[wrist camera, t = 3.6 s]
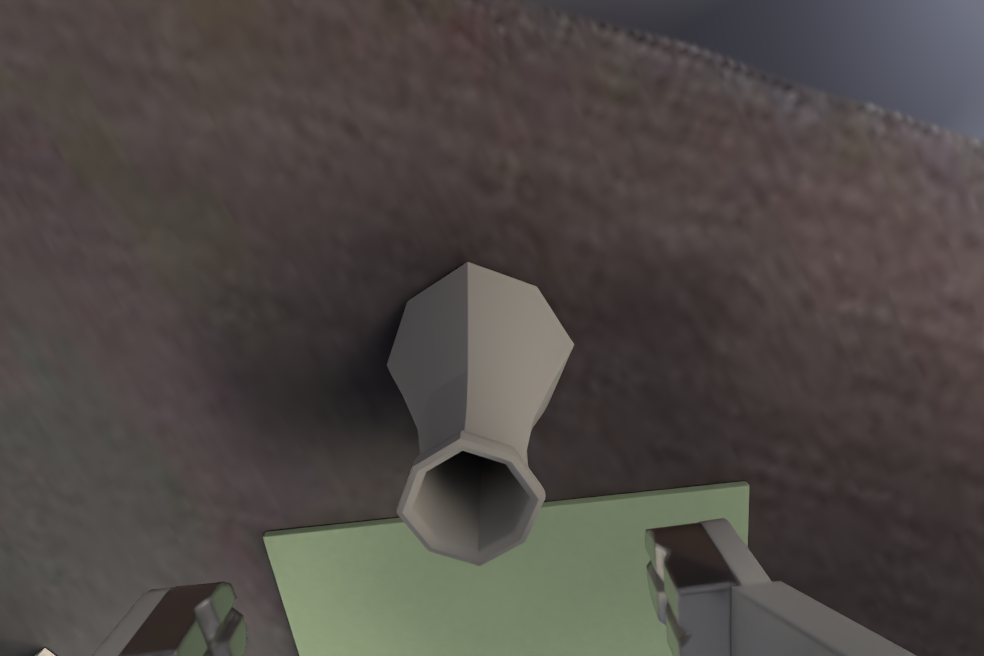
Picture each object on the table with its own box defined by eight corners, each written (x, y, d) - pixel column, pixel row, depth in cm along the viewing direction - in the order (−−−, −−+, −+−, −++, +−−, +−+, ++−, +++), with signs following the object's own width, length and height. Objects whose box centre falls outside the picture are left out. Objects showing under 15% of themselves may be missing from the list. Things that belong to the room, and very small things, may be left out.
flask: (604, 338, 21) (700, 483, 11) (494, 460, 22) (496, 676, 13) (463, 227, 19) (436, 283, 10) (357, 366, 21) (246, 528, 12)
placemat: (745, 480, 23) (749, 485, 22) (739, 694, 27) (743, 701, 26) (265, 531, 24) (262, 537, 23) (327, 731, 27) (324, 739, 27)
